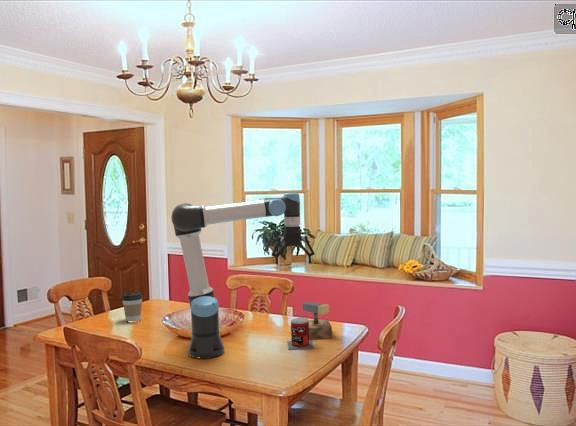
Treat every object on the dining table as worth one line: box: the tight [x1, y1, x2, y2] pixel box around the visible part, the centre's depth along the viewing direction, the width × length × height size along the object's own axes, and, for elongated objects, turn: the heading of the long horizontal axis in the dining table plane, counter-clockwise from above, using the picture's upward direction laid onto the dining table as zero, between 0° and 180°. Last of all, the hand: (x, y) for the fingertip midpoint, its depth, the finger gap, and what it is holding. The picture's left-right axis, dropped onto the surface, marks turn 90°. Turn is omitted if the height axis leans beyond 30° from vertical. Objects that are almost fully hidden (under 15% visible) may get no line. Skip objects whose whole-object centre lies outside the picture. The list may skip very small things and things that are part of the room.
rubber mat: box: [286, 339, 315, 351], centre depth 224 cm, size 11×11×1 cm
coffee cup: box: [121, 291, 144, 322], centre depth 272 cm, size 11×11×15 cm
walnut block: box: [308, 319, 333, 340], centre depth 239 cm, size 13×13×5 cm
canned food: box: [290, 317, 310, 347], centre depth 223 cm, size 8×8×11 cm
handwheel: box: [302, 300, 330, 323], centre depth 239 cm, size 12×5×9 cm, turn 46°
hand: (293, 270), depth 237 cm, fingers open, 13 cm apart
